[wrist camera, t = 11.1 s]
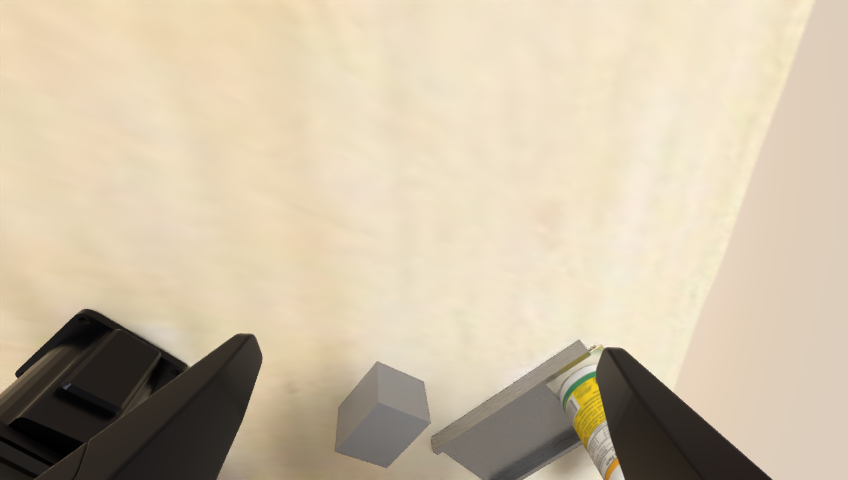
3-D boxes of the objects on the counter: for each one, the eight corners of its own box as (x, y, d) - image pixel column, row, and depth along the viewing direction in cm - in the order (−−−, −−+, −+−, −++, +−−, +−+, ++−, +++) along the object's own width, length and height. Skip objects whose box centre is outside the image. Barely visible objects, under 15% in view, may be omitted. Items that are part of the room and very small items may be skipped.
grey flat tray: (491, 481, 32) (496, 495, 31) (431, 437, 29) (433, 452, 28) (637, 392, 30) (647, 404, 29) (591, 331, 26) (600, 343, 25)
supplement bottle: (544, 391, 27) (624, 540, 19) (601, 349, 26) (714, 485, 18) (581, 420, 29) (668, 565, 21) (635, 382, 28) (751, 518, 20)
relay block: (384, 422, 28) (386, 467, 24) (338, 405, 26) (334, 451, 23) (423, 380, 26) (430, 422, 23) (377, 359, 25) (378, 402, 22)
